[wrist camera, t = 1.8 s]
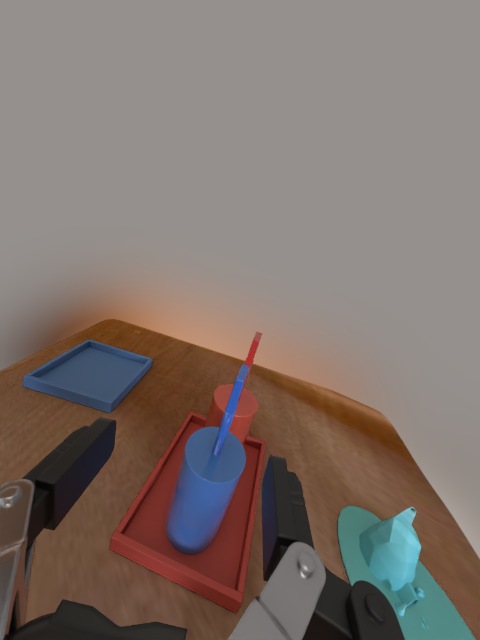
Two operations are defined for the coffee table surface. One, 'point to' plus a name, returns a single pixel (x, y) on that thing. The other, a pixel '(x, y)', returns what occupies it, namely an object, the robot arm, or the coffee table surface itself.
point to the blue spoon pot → (206, 481)
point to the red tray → (229, 544)
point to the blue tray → (90, 375)
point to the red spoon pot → (245, 403)
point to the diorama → (398, 573)
